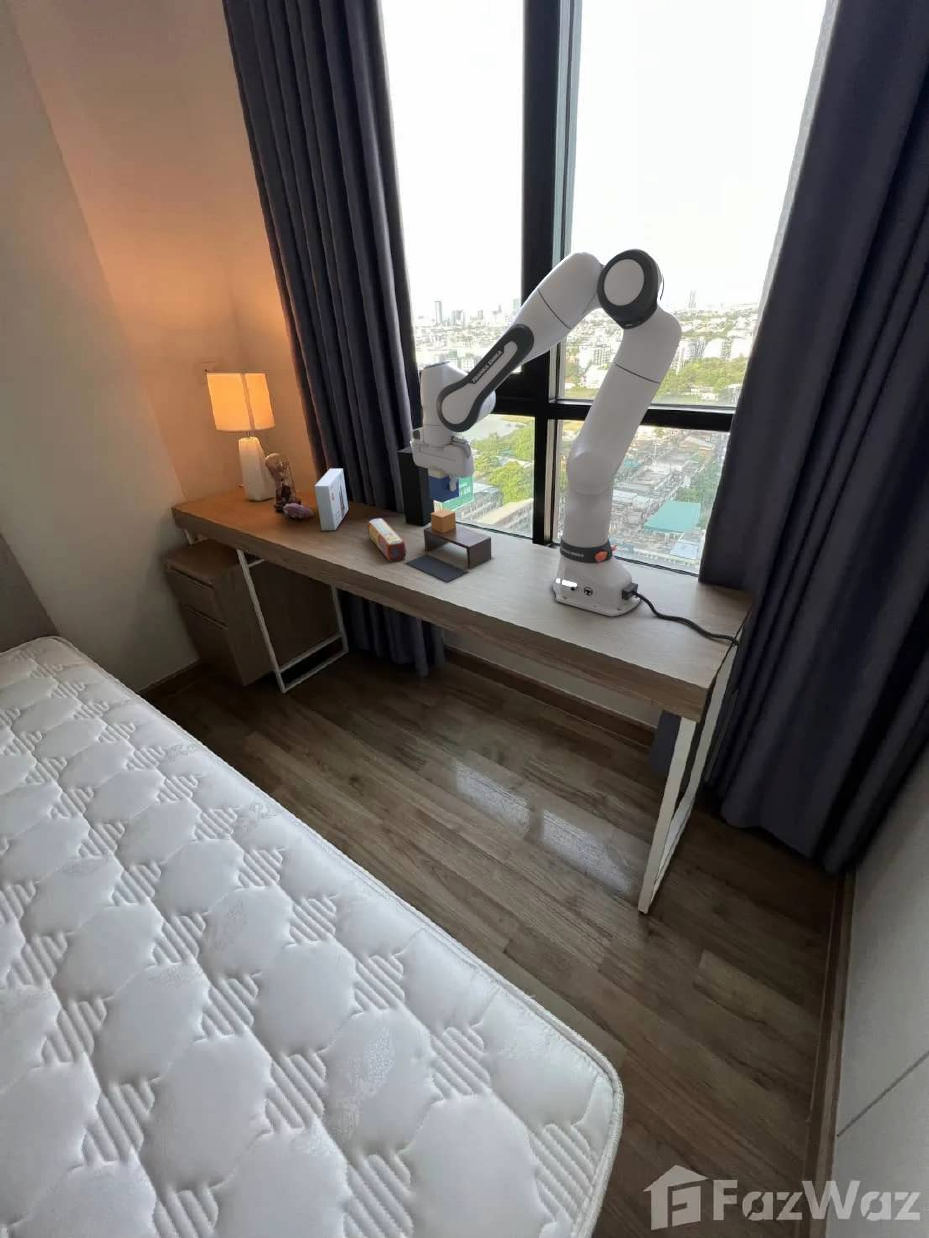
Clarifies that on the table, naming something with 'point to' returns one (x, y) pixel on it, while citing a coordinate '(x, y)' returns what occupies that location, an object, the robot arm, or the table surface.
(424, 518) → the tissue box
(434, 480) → the dark blue box
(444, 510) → the ochre box
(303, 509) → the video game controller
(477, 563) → the desk shelf
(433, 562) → the felt pad
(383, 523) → the snack package
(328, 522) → the skincare box
